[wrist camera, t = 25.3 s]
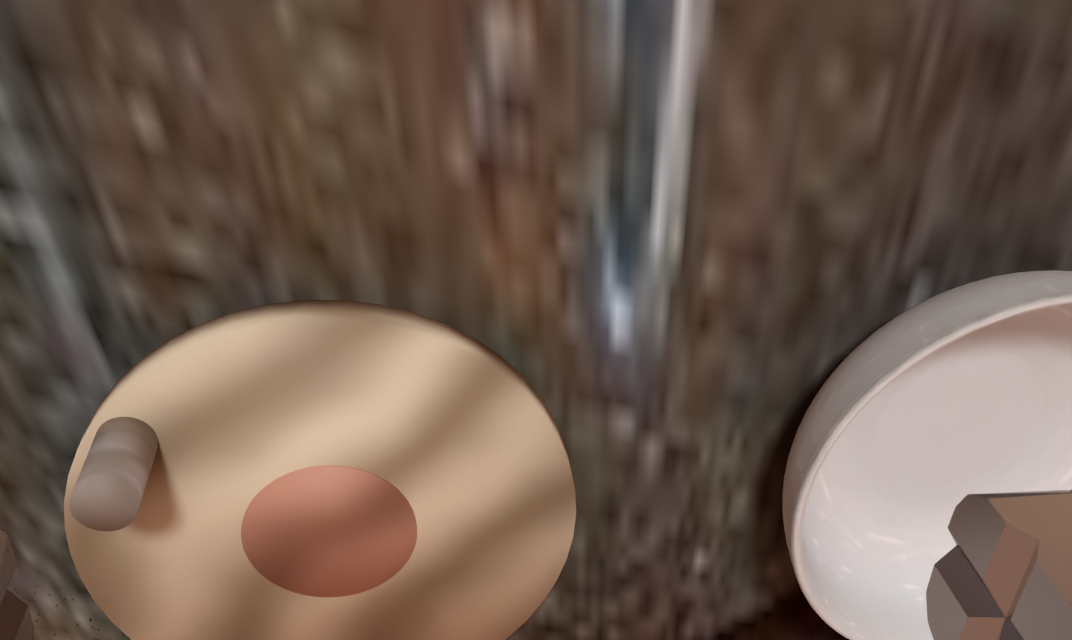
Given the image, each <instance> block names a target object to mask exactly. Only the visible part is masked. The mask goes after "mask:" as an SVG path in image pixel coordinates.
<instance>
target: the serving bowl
mask: <svg viewBox="0 0 1072 640" xmlns="http://www.w3.org/2000/svg"><path fill="white" fill-rule="evenodd" d="M1055 490H1066V491H1069V490H1072V271H1029V272H1019V273H1012V274H1006V275H1000V276H995V277H991V278H987V279H983V280H979V281H975V282H971V283H968V284H965V285H962V286H959V287H956V288H954V289H951V290H948V291H946V292H943V293H941V294H939V295H936V296H934V297H932V298H930V299H928V300H925V301H923V302H922V303H920V304H918V305H916V306H914V307H912V308H910V309H908V310H907V311H905V312H903V313H902V314H900V315H898V316H897V317H895V318H894V319H892V320H891V321H889V322H888V323H887V324H885V325H884V326H882V327H881V328H879V329H878V330H877V331H875V332H874V333H873V334H872V335H871V336H869V337H868V338H867V339H866V340H865V341H864V342H862V343H861V344H860V345H859V346H858V347H857V348H855V349H854V350H853V351H852V352H851V353H850V354H849V355H848V356H847V357H846V358H845V359H844V360H843V362H842V363H841V364H840V365H839V366H838V367H837V368H836V369H835V370H834V372H833V373H832V374H831V375H830V377H829V378H828V379H827V380H826V382H825V383H824V384H823V386H822V387H821V389H820V390H819V392H818V393H817V395H816V396H815V398H814V399H813V401H812V403H811V404H810V406H809V408H808V409H807V411H806V413H805V415H804V417H803V419H802V421H801V423H800V426H799V428H798V430H797V433H796V435H795V438H794V441H793V444H792V447H791V450H790V453H789V457H788V461H787V466H786V471H785V476H784V484H783V498H782V502H783V522H784V531H785V536H786V542H787V547H788V550H789V554H790V558H791V562H792V565H793V569H794V572H795V575H796V578H797V581H798V583H799V586H800V588H801V590H802V592H803V594H804V595H805V597H806V599H807V601H808V602H809V604H810V605H811V607H812V608H813V609H814V611H815V612H816V613H817V614H818V615H819V616H820V618H821V619H822V620H823V621H825V622H826V623H827V624H828V625H829V626H830V627H831V628H833V629H834V630H835V631H836V632H838V633H839V634H841V635H842V636H844V637H846V638H848V639H849V640H934V639H933V636H932V633H931V630H930V627H929V624H928V620H927V603H926V590H927V587H928V583H929V580H930V577H931V574H932V570H933V567H934V564H935V563H936V562H938V561H939V560H940V559H941V558H942V557H943V556H945V555H946V554H947V553H948V552H949V551H950V550H952V549H953V548H954V547H955V546H956V543H955V541H954V539H953V537H952V535H951V534H950V532H949V530H948V525H949V523H950V520H951V517H952V515H953V512H954V510H955V507H956V506H957V505H958V504H959V503H960V502H961V501H962V500H963V499H964V498H965V497H966V496H967V495H968V494H985V493H1008V492H1032V491H1055Z"/></svg>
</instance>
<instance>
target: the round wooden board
mask: <svg viewBox="0 0 1072 640" xmlns="http://www.w3.org/2000/svg"><path fill="white" fill-rule="evenodd" d="M64 517H65V531H66V536H67V541H68V545H69V550H70V554H71V557H72V559H73V561H74V564H75V566H76V569H77V571H78V574H79V576H80V578H81V580H82V582H83V583H84V585H85V587H86V588H87V590H88V592H89V593H90V595H91V596H92V598H93V600H94V601H95V602H96V603H97V605H98V606H99V607H100V608H101V609H102V611H103V612H104V613H105V614H106V615H107V617H108V618H109V619H110V620H111V621H112V622H113V623H114V624H115V625H116V626H117V627H118V628H119V629H120V630H122V631H123V632H124V633H125V634H126V635H127V636H128V637H129V638H130V639H132V640H506V639H507V638H508V637H509V636H510V635H511V634H512V633H514V632H515V631H516V630H517V629H518V628H519V627H520V626H521V625H523V624H524V623H525V622H526V621H527V620H528V618H529V617H530V616H531V615H532V614H533V613H534V612H535V610H536V609H537V608H538V607H539V606H540V605H541V604H542V602H543V601H544V599H545V598H546V596H547V595H548V593H549V592H550V590H551V589H552V587H553V586H554V584H555V583H556V581H557V579H558V577H559V575H560V573H561V571H562V568H563V566H564V564H565V562H566V560H567V556H568V553H569V550H570V546H571V543H572V540H573V535H574V527H575V519H576V498H575V487H574V482H573V478H572V473H571V468H570V464H569V460H568V456H567V452H566V448H565V444H564V441H563V439H562V436H561V434H560V431H559V429H558V426H557V424H556V421H555V419H554V418H553V416H552V414H551V413H550V411H549V409H548V408H547V406H546V405H545V403H544V401H543V400H542V398H541V397H540V395H539V394H538V393H537V392H536V391H535V389H534V388H533V387H532V386H531V385H530V384H529V382H528V381H527V380H526V379H525V378H524V376H523V375H521V374H520V373H519V372H518V371H517V370H516V369H515V368H514V367H513V366H511V365H510V364H509V363H508V362H507V361H506V360H505V359H504V358H502V357H501V356H500V355H498V354H497V353H495V352H494V351H492V350H491V349H490V348H488V347H487V346H485V345H484V344H482V343H481V342H479V341H478V340H476V339H475V338H473V337H471V336H469V335H467V334H465V333H463V332H461V331H459V330H457V329H455V328H453V327H451V326H449V325H447V324H444V323H441V322H439V321H436V320H433V319H430V318H427V317H425V316H422V315H419V314H416V313H413V312H409V311H405V310H401V309H396V308H392V307H388V306H383V305H379V304H370V303H362V302H353V301H344V300H303V301H294V302H285V303H276V304H268V305H264V306H259V307H255V308H250V309H246V310H242V311H237V312H233V313H230V314H228V315H225V316H222V317H219V318H216V319H214V320H211V321H208V322H205V323H202V324H200V325H198V326H196V327H194V328H192V329H190V330H188V331H186V332H184V333H182V334H180V335H178V336H176V337H174V338H172V339H170V340H168V341H167V342H166V343H164V344H163V345H161V346H160V347H158V348H157V349H155V350H154V351H152V352H151V353H149V354H148V355H146V356H145V357H144V358H142V359H141V360H140V361H139V362H138V363H137V364H136V365H135V366H133V367H132V368H131V369H130V370H129V371H128V372H127V373H126V374H125V375H124V376H122V377H121V378H120V379H119V380H118V382H117V383H116V384H115V385H114V387H113V388H112V389H111V390H110V392H109V393H108V394H107V395H106V397H105V398H104V399H103V400H102V402H101V403H100V405H99V407H98V408H97V410H96V412H95V414H94V415H93V417H92V419H91V421H90V422H89V424H88V426H87V428H86V430H85V433H84V435H83V438H82V440H81V442H80V445H79V447H78V449H77V452H76V455H75V458H74V461H73V464H72V466H71V469H70V472H69V475H68V480H67V487H66V493H65V499H64Z"/></svg>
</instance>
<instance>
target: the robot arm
mask: <svg viewBox="0 0 1072 640" xmlns="http://www.w3.org/2000/svg"><path fill="white" fill-rule="evenodd" d="M948 530H949V532H950V534H951V535H952V537H953V539H954V541H955V543H956V546H955V547H954V548H953V549H952V550H950V551H949V552H948V553H947V554H946V555H945V556H943V557H942V558H941V559H940V560H939V561H938V562H936V563H935V564H934V567H933V570H932V574H931V577H930V580H929V583H928V587H927V590H926V603H927V620H928V624H929V627H930V630H931V633H932V636H933V639H934V640H1072V490H1069V491H1066V490H1055V491H1032V492H1008V493H985V494H968V495H967V496H966V497H965V498H964V499H963V500H962V501H961V502H960V503H959V504H958V505H957V506H956V507H955V510H954V512H953V515H952V517H951V520H950V523H949V525H948ZM16 567H17V562H16V558H15V555H14V552H13V549H12V546H11V543H10V539H9V536H8V534H7V533H5V532H3V531H1V530H0V640H34V627H33V623H32V618H31V614H30V610H29V606H28V605H27V604H26V603H25V602H23V601H22V600H21V599H19V598H18V597H17V596H15V595H14V594H13V593H11V592H10V591H9V590H7V588H8V586H9V584H10V581H11V579H12V576H13V574H14V572H15V569H16Z"/></svg>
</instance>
